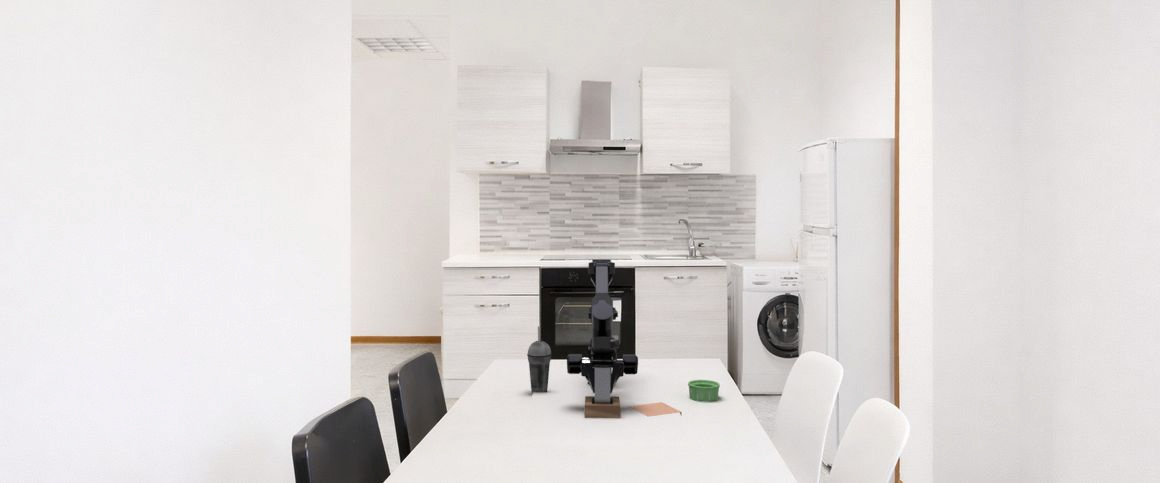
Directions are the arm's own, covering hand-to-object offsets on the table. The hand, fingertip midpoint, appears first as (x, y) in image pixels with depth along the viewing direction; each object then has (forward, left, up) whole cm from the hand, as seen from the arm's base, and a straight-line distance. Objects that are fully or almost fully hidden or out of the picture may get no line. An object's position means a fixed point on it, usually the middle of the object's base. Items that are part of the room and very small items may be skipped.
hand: (602, 392), depth 160 cm
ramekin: (-35, +9, -7) cm, 36 cm away
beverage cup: (-6, -29, -7) cm, 31 cm away
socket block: (-1, -1, -7) cm, 7 cm away
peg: (-1, -1, -6) cm, 6 cm away
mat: (-13, +7, -7) cm, 16 cm away
